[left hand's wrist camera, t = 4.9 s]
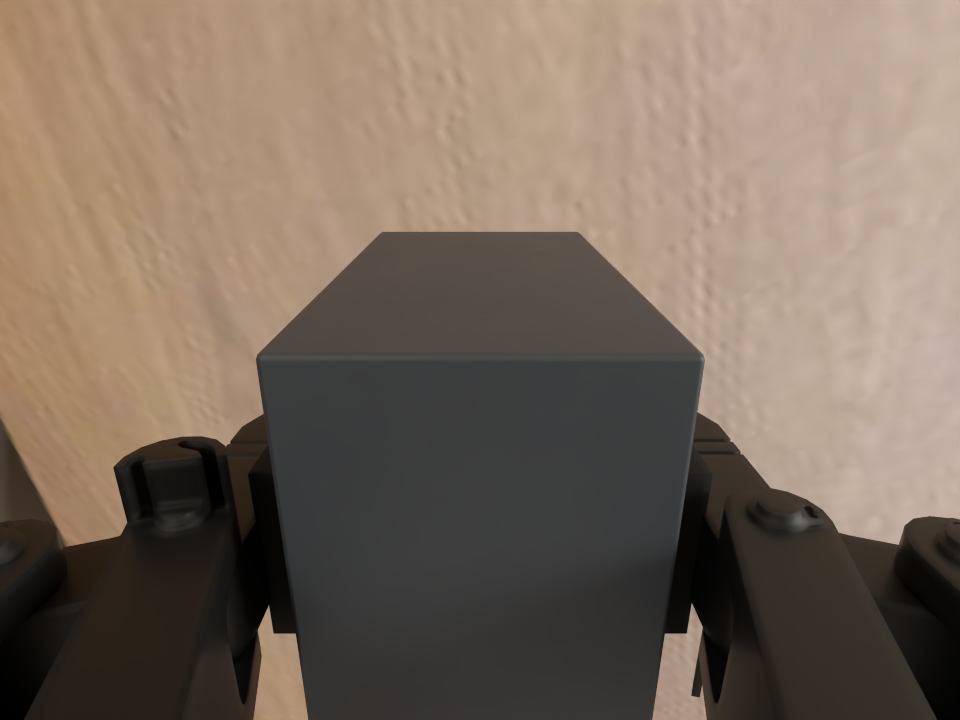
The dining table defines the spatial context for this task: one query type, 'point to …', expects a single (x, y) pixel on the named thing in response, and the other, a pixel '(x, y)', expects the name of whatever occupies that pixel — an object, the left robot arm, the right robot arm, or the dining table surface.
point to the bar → (480, 480)
